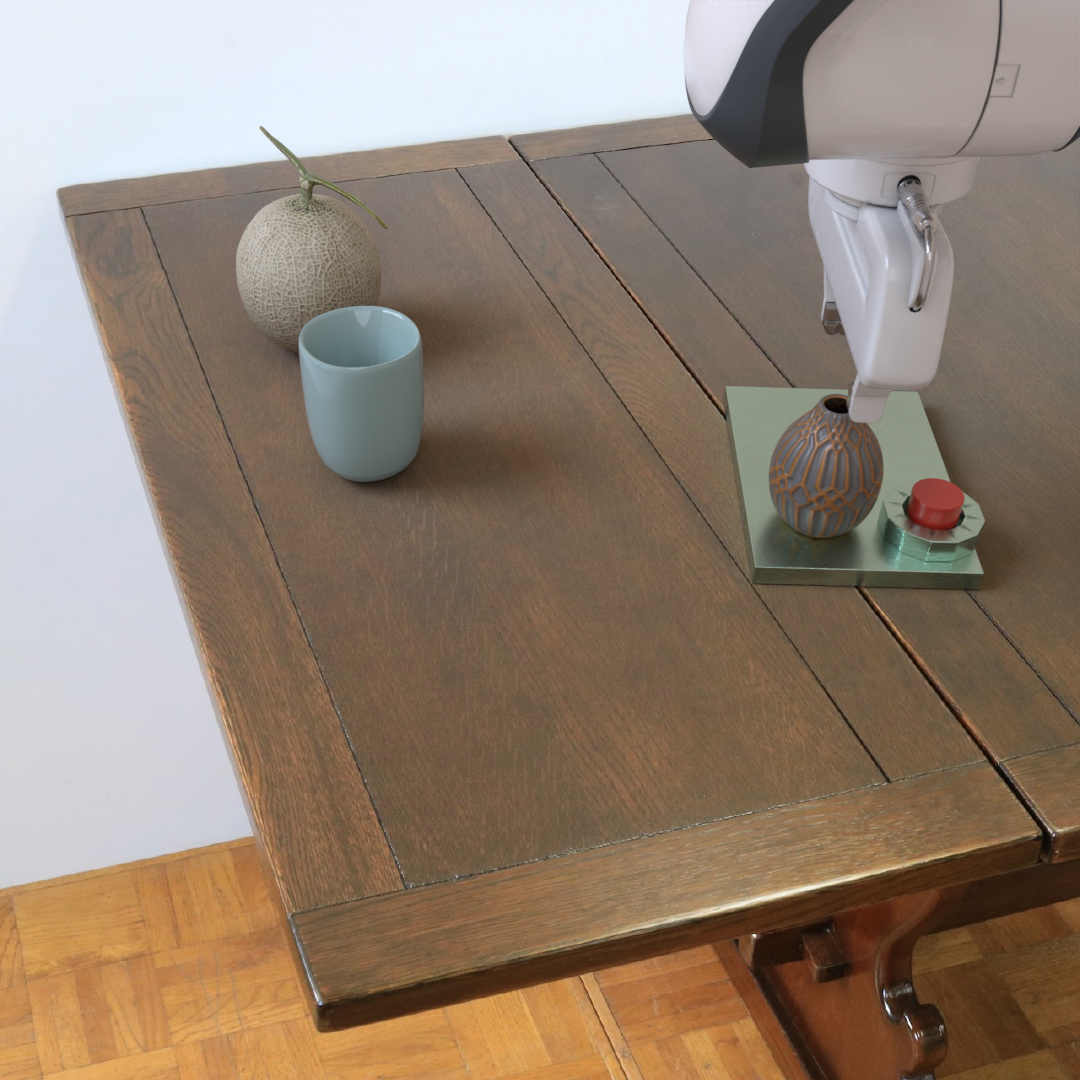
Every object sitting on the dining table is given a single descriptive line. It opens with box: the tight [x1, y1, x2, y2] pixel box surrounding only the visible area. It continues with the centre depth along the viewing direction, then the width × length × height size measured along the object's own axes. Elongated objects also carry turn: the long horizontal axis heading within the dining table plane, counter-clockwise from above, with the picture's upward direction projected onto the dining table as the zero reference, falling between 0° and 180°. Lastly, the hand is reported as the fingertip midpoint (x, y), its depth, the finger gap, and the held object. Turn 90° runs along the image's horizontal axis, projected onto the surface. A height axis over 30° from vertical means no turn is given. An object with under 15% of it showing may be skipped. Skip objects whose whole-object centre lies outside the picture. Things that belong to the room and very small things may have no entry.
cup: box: [298, 305, 425, 483], centre depth 87 cm, size 8×8×10 cm
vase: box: [769, 394, 884, 538], centre depth 82 cm, size 7×7×9 cm
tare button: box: [907, 478, 965, 530], centre depth 82 cm, size 3×3×2 cm
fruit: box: [235, 125, 389, 354], centre depth 97 cm, size 10×12×15 cm
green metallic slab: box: [722, 385, 986, 591], centre depth 88 cm, size 20×14×3 cm
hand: (848, 370), depth 77 cm, fingers open, 8 cm apart
